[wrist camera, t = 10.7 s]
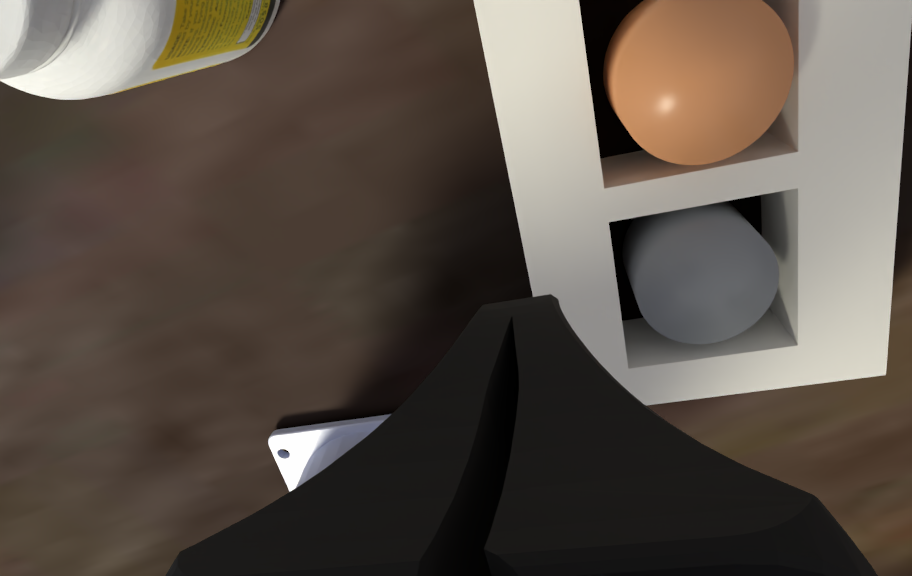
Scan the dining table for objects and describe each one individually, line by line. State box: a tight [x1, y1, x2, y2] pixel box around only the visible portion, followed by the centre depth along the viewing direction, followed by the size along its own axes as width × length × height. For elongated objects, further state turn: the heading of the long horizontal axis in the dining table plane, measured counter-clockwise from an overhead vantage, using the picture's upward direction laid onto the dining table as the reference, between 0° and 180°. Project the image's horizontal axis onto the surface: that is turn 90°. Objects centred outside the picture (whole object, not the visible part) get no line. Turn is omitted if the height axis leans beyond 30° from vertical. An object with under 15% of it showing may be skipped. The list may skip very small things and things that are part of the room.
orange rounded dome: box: [603, 0, 794, 165], centre depth 16 cm, size 4×4×3 cm
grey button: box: [622, 201, 779, 344], centre depth 19 cm, size 4×4×3 cm
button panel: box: [474, 0, 912, 405], centre depth 17 cm, size 20×10×3 cm, turn 13°
